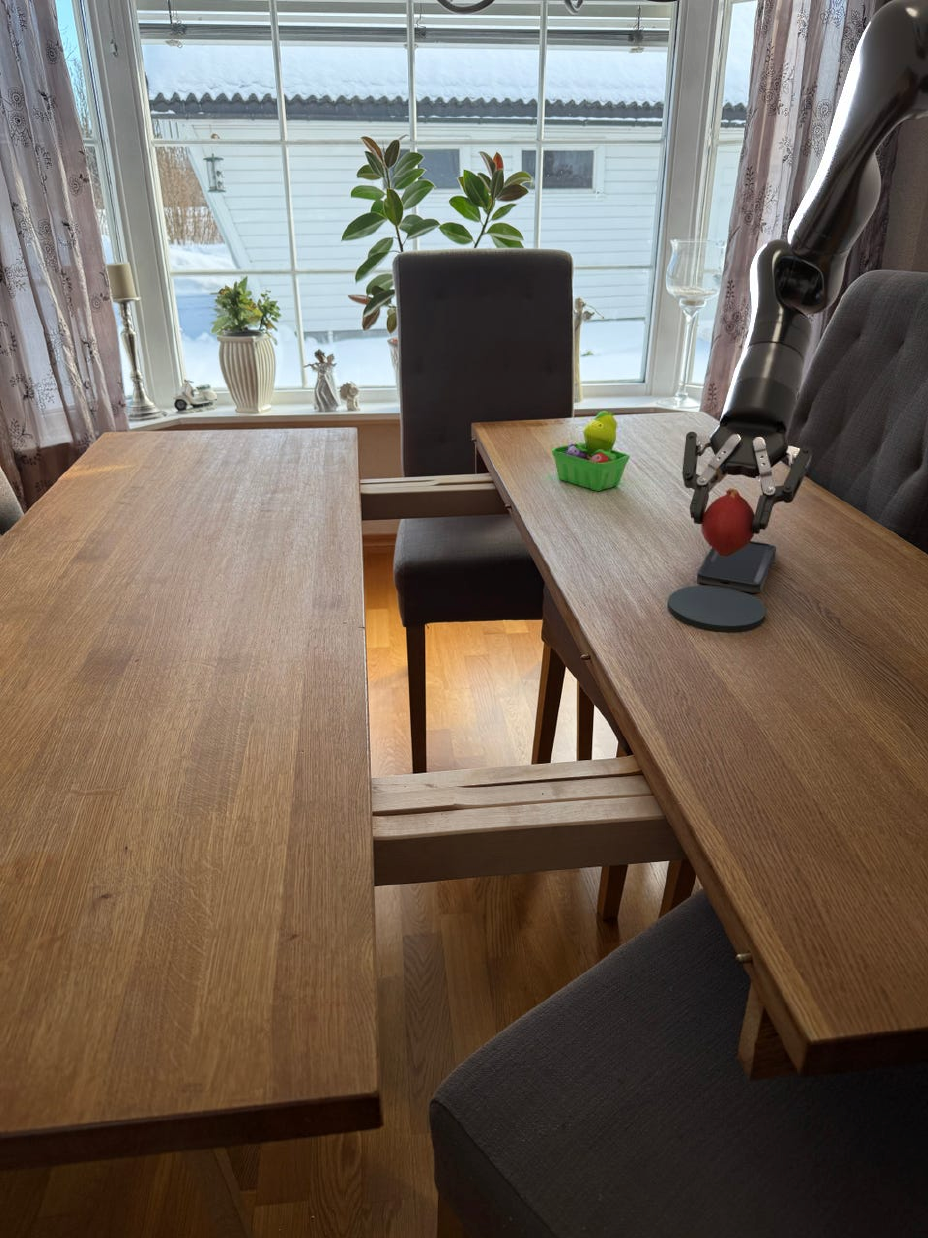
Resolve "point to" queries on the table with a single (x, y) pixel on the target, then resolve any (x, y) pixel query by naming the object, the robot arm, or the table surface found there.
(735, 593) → the dark grey flat disc
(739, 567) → the phone
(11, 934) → the table surface
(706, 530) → the onion
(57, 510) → the table surface
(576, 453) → the fruit basket
